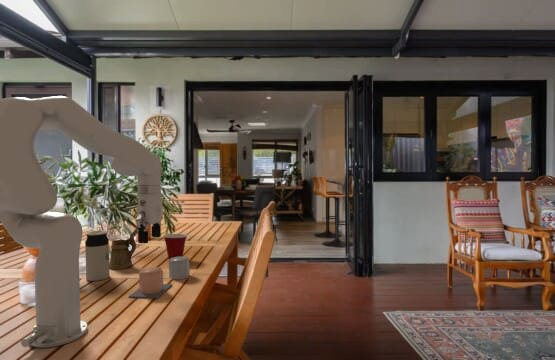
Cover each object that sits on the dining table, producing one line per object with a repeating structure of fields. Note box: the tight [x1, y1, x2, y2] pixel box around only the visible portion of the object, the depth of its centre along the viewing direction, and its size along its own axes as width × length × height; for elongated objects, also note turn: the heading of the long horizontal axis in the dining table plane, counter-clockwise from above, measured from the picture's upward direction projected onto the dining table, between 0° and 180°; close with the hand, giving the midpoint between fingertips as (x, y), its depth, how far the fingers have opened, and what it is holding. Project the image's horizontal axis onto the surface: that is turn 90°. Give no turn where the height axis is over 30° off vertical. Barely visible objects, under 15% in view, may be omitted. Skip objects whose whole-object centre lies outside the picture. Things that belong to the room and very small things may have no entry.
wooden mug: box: [109, 227, 138, 271], centre depth 145 cm, size 9×14×18 cm, turn 92°
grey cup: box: [168, 255, 191, 280], centre depth 132 cm, size 7×7×7 cm
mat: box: [128, 283, 173, 299], centre depth 116 cm, size 12×10×1 cm
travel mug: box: [84, 229, 110, 282], centre depth 130 cm, size 8×8×18 cm
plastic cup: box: [162, 233, 188, 262], centre depth 154 cm, size 11×11×12 cm
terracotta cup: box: [138, 266, 164, 294], centre depth 116 cm, size 7×7×7 cm
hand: (150, 239), depth 115 cm, fingers open, 9 cm apart
